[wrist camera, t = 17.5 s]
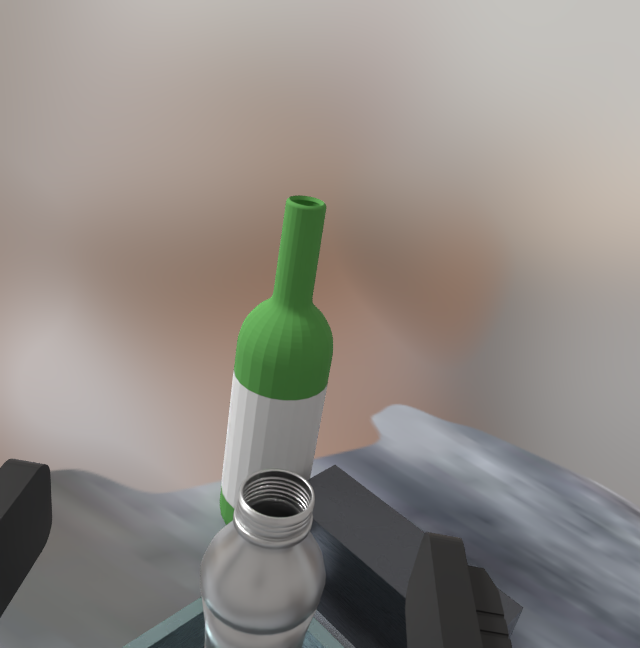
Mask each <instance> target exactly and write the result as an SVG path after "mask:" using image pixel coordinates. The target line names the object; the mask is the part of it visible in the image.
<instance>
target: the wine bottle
mask: <svg viewBox="0 0 640 648" xmlns="http://www.w3.org/2000/svg"><path fill="white" fill-rule="evenodd" d="M325 212H326V205H325V203H324V202H323V201H321V200H319V199H316V198H313V197H308V196H291V197H289V198H288V199H287V201H286V207H285V214H284V221H283V228H282V235H281V243H280V249H279V257H278V264H277V271H276V278H275V285H274V292H273V295H272V297H271V298H270V299H268V300H266V301H264V302H262V303H260V304H259V305H258V306H257V307H255V308H254V309H253V310H252V312H250V313H249V315H248V316H247V317H246V319H245V320H244V322H243V324H242V327H241V330H240V333H239V336H238V340H237V349H236V357H235V366H234V373H233V383H232V391H231V401H230V410H229V419H228V428H227V437H226V446H225V455H224V465H223V474H222V483H221V484H222V486H221V495H220V509H221V515H222V517H223V519H224V521H225V523H226V525H227V524H229V523H230V522H231V521H233V514H234V509H235V505H236V503H237V501H238V494H239V490H240V487H241V484H242V483H243V481H244V480H245V479H246V478H247V477H248V476H249V475H251V474H252V473H255V472H257V471H260V470H264V469H284V470H288V471H292V472H294V473H296V474H298V475H300V476H302V477H303V478H305V479H306V480H309V479H310V475H311V470H312V465H313V459H314V454H315V448H316V443H317V438H318V432H319V427H320V422H321V416H322V411H323V405H324V400H325V395H326V389H327V383H328V377H329V372H330V366H331V361H332V355H333V337H332V332H331V329H330V327H329V325H328V322H327V320H326V319H325V317H324V315H323V314H322V313H321V311H320V310H319V309H317V307H315V306H314V304H313V302H312V296H313V290H314V283H315V277H316V270H317V264H318V258H319V251H320V244H321V238H322V232H323V225H324V219H325Z"/></svg>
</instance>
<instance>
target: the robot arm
mask: <svg viewBox="0 0 640 648" xmlns="http://www.w3.org/2000/svg"><path fill="white" fill-rule="evenodd" d="M51 524H52V503H51V479H50V469H49V466H48V465H46V464H40V463H35V462H29V461H23V460H17V459H9V460H7V461H6V462H5V463H4V464H3V465H2V467H1V468H0V617H1V616H2V614H3V612H4V611H5V609H6V608H7V606H8V604H9V603H10V601H11V600H12V598H13V596H14V595H15V593H16V592H17V590H18V588H19V587H20V585H21V584H22V582H23V580H24V579H25V577H26V576H27V574H28V572H29V571H30V569H31V568H32V566H33V564H34V563H35V561H36V560H37V558H38V556H39V555H40V553H41V552H42V550H43V548H44V546H45V544H46V542H47V539H48V537H49V533H50V530H51ZM405 617H406V632H407V648H512V645H511V640H510V639H509V632H508V628H507V623H506V619H504V611H503V606H502V602H501V598H500V594H499V590H498V589H497V587H496V586H495V584H494V583H493V581H492V580H491V578H490V577H489V575H488V574H487V572H486V571H485V569H484V568H478V567H473V566H468V565H467V560H466V554H465V549H464V544H463V541H462V539H461V538H458V537H452V536H446V535H440V534H435V533H429V532H426V533H425V534H424V536H423V538H422V541H421V544H420V548H419V551H418V554H417V557H416V560H415V563H414V566H413V570H412V573H411V576H410V579H409V582H408V587H407V593H406V602H405Z"/></svg>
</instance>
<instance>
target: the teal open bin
mask: <svg viewBox="0 0 640 648" xmlns="http://www.w3.org/2000/svg"><path fill="white" fill-rule="evenodd" d="M307 481H308V482H309V483H310V485H311V486H312V488H313V490H314V494H315V502H314V507H313V512H312V514H313V521H312V526H311V530H310V532H311V534H312V535H313V537H314V538H315V540H316V542H317V543H318V545H319V547H320V549H321V552H322V555H323V561H324V566H325V572H326V580H325V586H324V589H323V592H322V596H321V599H320V602H319V604H318V606H317V610H318V611H319V612H320V613H321V614H322V615H323V616H324V617H325V618H326V619H327V620H328V621H329V622H330V623H331V624H332V625H333V626H334V627H335V628H336V629H337V630H338V631H340V632H341V633H342V634H343V635H344V636H345V637H346V638H347V639H348V640H349V641H350V642H351V643H352V644H353V645H354V646H355V647H356V648H407V632H406V617H405V602H406V593H407V587H408V582H409V579H410V576H411V573H412V570H413V566H414V563H415V560H416V557H417V554H418V551H419V548H420V544H421V541H422V538H423V536H424V534H425V533H424V532H423V531H422V530H420V529H419V528H418V527H416V526H415V525H414V524H412V523H411V522H410V521H409V520H407V519H406V518H405V517H403V516H402V515H401V514H399V513H398V512H397V511H395V510H394V509H393V508H391V507H390V506H389V505H387V504H386V503H385V502H384V501H382V500H381V499H380V498H378V497H377V496H376V495H374V494H373V493H372V492H370V491H369V490H368V489H366V488H365V487H364V486H362V485H361V484H360V483H359V482H357V481H356V480H355V479H353V478H352V477H351V476H349V475H348V474H347V473H345V472H344V471H343V470H341V469H340V468H339V467H337V466H336V465H334V466H332V467H330V468H328V469H327V470H325V471H323V472H321V473H319V474H318V475H316V476H314V477H312V478H311V479H309V480H307ZM497 589H498V588H497ZM498 590H499V589H498ZM499 594H500V598H501V602H502V606H503V611H504V619H506V623H507V628H508V632H509V639H510V636H511V634H512V632H513V630H514V627H515V625H516V623H517V621H518V618H519V616H520V614H521V612H522V609H523V607H522V606H520V605H519V604H518V603H516V602H515V601H514V600H512V599H511V598H510V597H508V596H507V595H506V594H505V593H503V592H502V591H501V590H499ZM204 646H205V620H204V612H203V604H202V597H200V598H199V599H197V600H196V601H194V602H193V603H191V604H189V605H188V606H186V607H185V608H183V609H182V610H180V611H178V612H177V613H175V614H174V615H172V616H171V617H169V618H167V619H166V620H164V621H163V622H161V623H160V624H158V625H156V626H155V627H153V628H152V629H150V630H149V631H147V632H145V633H144V634H142V635H141V636H139V637H138V638H136V639H134V640H133V641H131V642H130V643H128V644H127V645H125V646H123V647H122V648H204ZM302 648H344V647H343V646H342V645H341V644H340V643H339V642H338V641H337V640H336V639H335V638H334V637H333V636H332V635H331V634H330V633H329V632H328V631H327V630H326V629H325V628H324V627H323V626H322V625H321V624H320V623H319V622H318V621H317V620H316V619H315V618H314V617H313V618H312V620H311V623H310V625H309V627H308V630H307V632H306V634H305V638H304V641H303V645H302Z"/></svg>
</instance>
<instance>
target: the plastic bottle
mask: <svg viewBox="0 0 640 648" xmlns="http://www.w3.org/2000/svg"><path fill="white" fill-rule="evenodd" d="M314 502H315V494H314V490H313V488H312V486H311V485H310V483H309V482H308V481H307V480H306V479H305V478H303V477H302V476H300V475H298V474H296V473H294V472H292V471H288V470H284V469H264V470H260V471H257V472H255V473H252V474H251V475H249V476H248V477H247V478H246V479H245V480H244V481H243V483H242V484H241V487H240V490H239V494H238V501H237V503H236V505H235V509H234V514H233V521H231V522H230V523H229V524H227V525H226V526H225V527H224V528H222V529H221V530H220V531H219V532H218V533H217V534H216V535H215V536H214V538H213V539H212V541H211V543H210V544H209V546H208V548H207V550H206V552H205V554H204V556H203V559H202V562H201V565H200V589H201V596H202V604H203V612H204V620H205V646H204V648H302V645H303V641H304V638H305V634H306V632H307V630H308V627H309V625H310V623H311V620H312V618H313V616H314V613H315V611H316V609H317V606H318V604H319V602H320V599H321V596H322V592H323V589H324V586H325V580H326V572H325V566H324V561H323V555H322V552H321V549H320V547H319V545H318V543H317V542H316V540H315V538H314V537H313V535H312V534H311V532H310V530H311V526H312V521H313V514H312V512H313V507H314Z"/></svg>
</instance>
